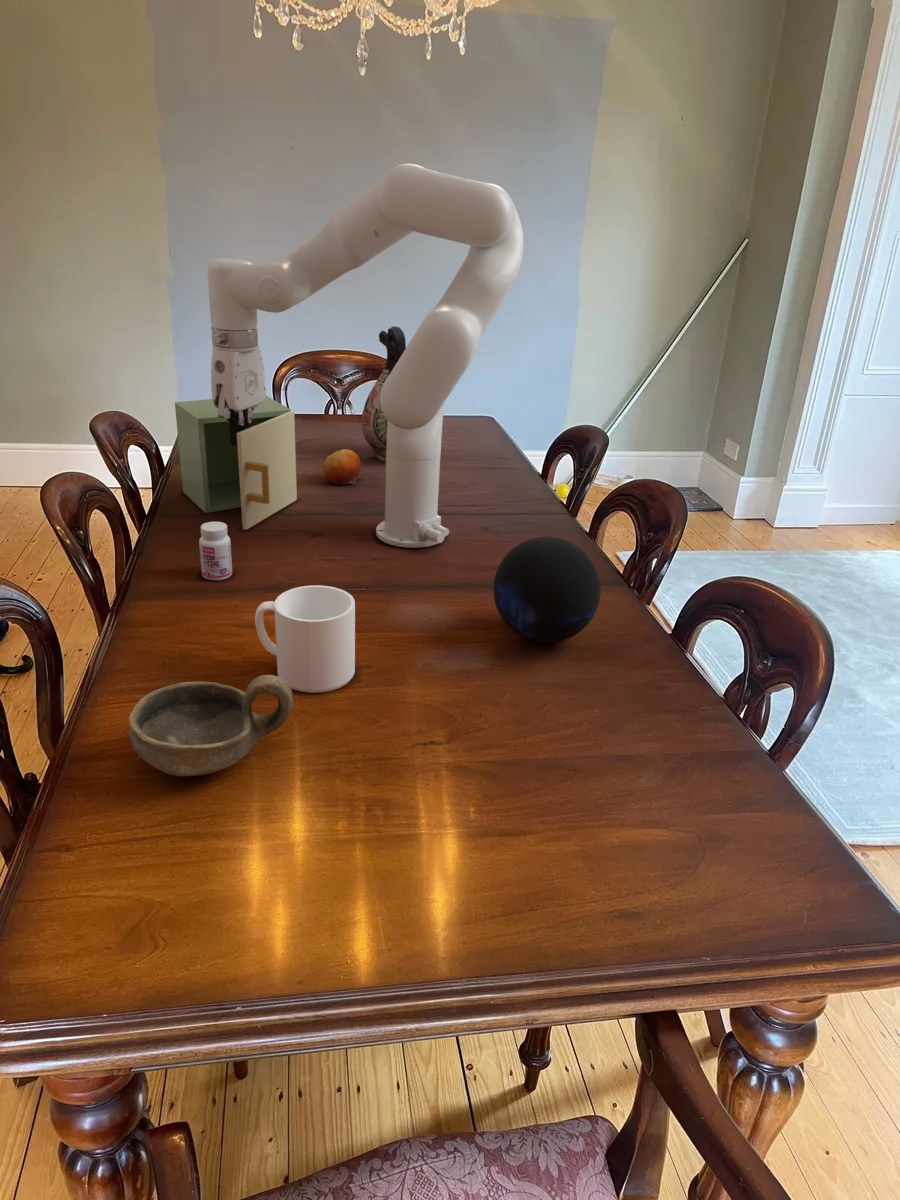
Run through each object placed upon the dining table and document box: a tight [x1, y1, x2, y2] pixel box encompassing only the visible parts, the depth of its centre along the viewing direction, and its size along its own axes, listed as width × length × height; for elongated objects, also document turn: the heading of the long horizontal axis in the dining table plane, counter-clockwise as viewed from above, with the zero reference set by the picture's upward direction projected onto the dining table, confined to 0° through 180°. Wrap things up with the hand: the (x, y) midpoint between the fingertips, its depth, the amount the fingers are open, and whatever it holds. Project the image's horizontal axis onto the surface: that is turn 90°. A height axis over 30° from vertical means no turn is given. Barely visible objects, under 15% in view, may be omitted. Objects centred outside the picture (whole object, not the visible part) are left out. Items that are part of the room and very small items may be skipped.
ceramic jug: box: [361, 326, 407, 462], centre depth 187 cm, size 17×15×30 cm
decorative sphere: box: [493, 536, 602, 644], centre depth 118 cm, size 15×15×15 cm
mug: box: [254, 584, 356, 694], centre depth 107 cm, size 13×10×10 cm
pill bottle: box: [198, 521, 233, 581], centre depth 132 cm, size 5×5×8 cm
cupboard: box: [174, 395, 292, 514], centre depth 162 cm, size 13×18×18 cm
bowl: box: [127, 674, 294, 777], centre depth 90 cm, size 14×18×10 cm
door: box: [237, 410, 298, 531], centre depth 153 cm, size 5×18×18 cm, turn 159°
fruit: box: [322, 448, 362, 486], centre depth 176 cm, size 8×8×8 cm
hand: (240, 445), depth 147 cm, fingers closed
